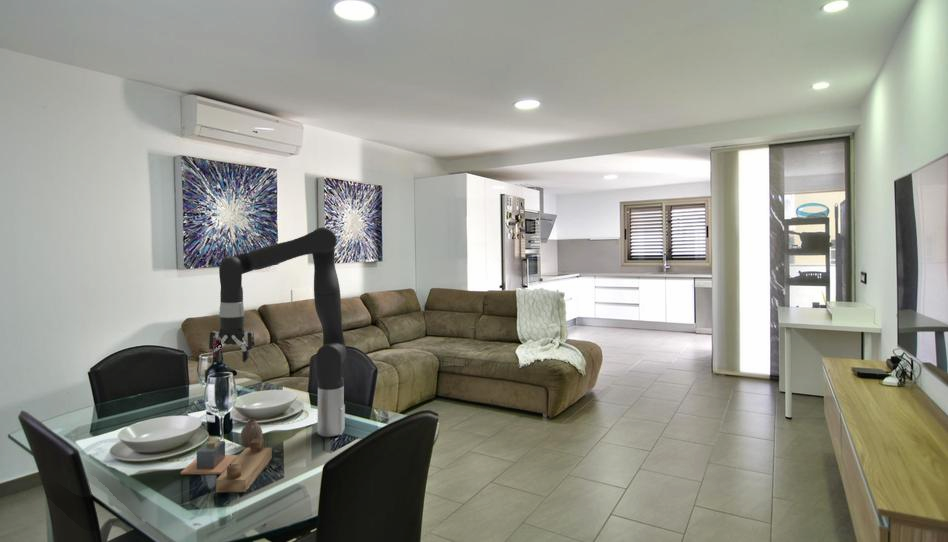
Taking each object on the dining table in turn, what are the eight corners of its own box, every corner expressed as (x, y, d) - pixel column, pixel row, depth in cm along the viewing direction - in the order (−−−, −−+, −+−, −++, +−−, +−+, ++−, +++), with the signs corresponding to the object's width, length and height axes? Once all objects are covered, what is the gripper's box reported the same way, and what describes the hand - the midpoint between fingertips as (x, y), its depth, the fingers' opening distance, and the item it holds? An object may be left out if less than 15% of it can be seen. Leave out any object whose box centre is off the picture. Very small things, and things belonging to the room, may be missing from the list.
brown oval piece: (244, 441, 175) (244, 417, 175) (265, 441, 176) (265, 417, 175) (237, 450, 168) (237, 424, 168) (258, 449, 169) (258, 424, 168)
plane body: (271, 458, 163) (271, 438, 162) (245, 492, 141) (245, 469, 141) (246, 458, 162) (246, 438, 162) (216, 492, 140) (215, 469, 140)
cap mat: (237, 456, 163) (237, 455, 163) (221, 474, 151) (221, 472, 151) (199, 457, 162) (199, 455, 162) (180, 474, 150) (180, 472, 150)
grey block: (225, 457, 161) (224, 437, 160) (213, 469, 153) (213, 448, 152) (208, 457, 160) (208, 437, 160) (196, 469, 153) (196, 448, 152)
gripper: (257, 313, 177) (257, 359, 178) (215, 313, 176) (215, 358, 177) (249, 316, 170) (249, 364, 171) (205, 316, 169) (205, 364, 170)
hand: (232, 361), depth 174 cm, fingers open, 8 cm apart
